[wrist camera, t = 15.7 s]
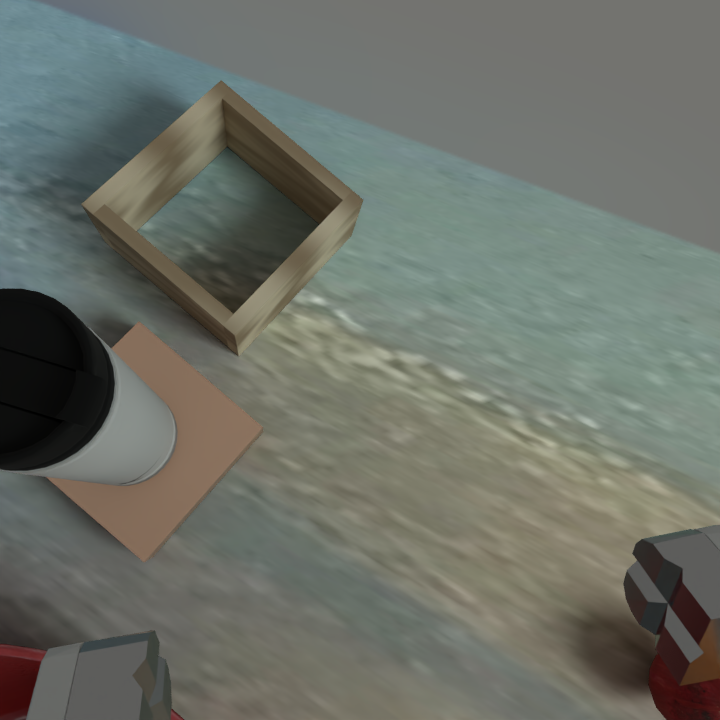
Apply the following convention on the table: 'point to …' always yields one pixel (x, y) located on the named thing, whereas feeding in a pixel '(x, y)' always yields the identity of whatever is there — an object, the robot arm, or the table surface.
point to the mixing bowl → (22, 680)
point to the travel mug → (74, 400)
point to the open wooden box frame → (181, 164)
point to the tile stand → (189, 461)
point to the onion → (683, 695)
